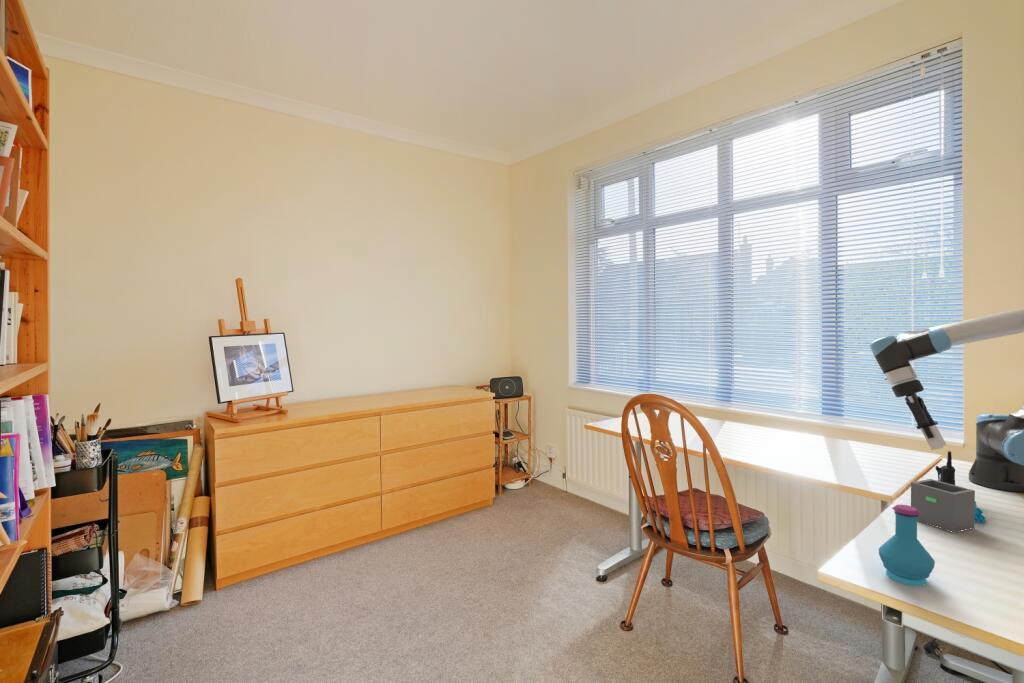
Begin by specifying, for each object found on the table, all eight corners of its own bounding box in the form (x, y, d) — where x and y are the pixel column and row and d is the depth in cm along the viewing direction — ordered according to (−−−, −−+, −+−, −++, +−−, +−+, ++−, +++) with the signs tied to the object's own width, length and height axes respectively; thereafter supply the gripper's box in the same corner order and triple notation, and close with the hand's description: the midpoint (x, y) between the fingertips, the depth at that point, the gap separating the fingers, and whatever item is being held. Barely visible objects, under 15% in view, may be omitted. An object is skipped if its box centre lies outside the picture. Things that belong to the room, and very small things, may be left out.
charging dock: (930, 514, 133) (930, 478, 133) (974, 528, 124) (974, 490, 123) (909, 518, 130) (910, 482, 130) (953, 533, 121) (953, 494, 121)
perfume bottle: (939, 593, 95) (940, 519, 94) (881, 581, 100) (881, 510, 99) (929, 572, 102) (930, 504, 102) (875, 562, 107) (876, 497, 107)
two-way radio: (955, 503, 141) (956, 453, 140) (935, 499, 143) (936, 450, 143) (954, 497, 145) (955, 449, 144) (935, 494, 148) (935, 447, 147)
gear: (978, 522, 124) (946, 487, 130) (956, 532, 127) (926, 497, 134) (995, 519, 129) (963, 485, 135) (974, 529, 132) (943, 495, 139)
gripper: (896, 387, 164) (928, 448, 157) (884, 385, 147) (920, 453, 139) (922, 380, 159) (957, 442, 152) (913, 376, 142) (952, 446, 135)
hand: (939, 447), depth 146 cm, fingers open, 13 cm apart
